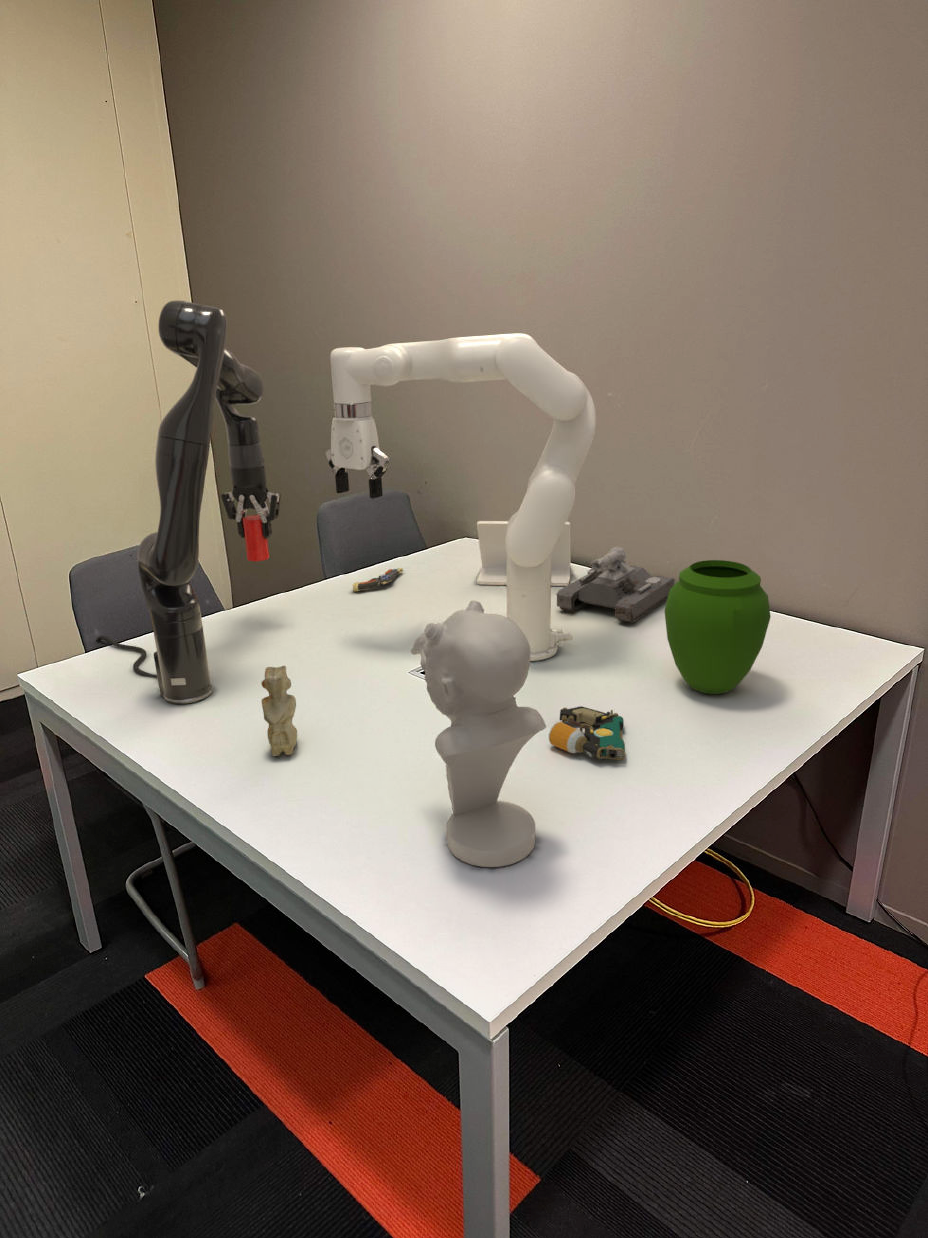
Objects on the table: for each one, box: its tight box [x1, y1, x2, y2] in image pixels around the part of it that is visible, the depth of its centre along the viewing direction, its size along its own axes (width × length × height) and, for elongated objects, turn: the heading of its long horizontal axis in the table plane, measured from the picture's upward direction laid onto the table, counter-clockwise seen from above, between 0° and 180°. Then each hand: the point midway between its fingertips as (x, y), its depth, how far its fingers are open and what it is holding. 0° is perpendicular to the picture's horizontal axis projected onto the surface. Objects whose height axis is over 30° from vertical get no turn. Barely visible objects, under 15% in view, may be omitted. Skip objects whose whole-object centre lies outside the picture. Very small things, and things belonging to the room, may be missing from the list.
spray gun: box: [548, 705, 626, 761], centre depth 149 cm, size 4×17×15 cm
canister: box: [243, 514, 270, 562], centre depth 197 cm, size 5×5×10 cm
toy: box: [556, 546, 676, 624], centre depth 212 cm, size 25×20×15 cm
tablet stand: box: [476, 520, 572, 587], centre depth 236 cm, size 18×25×17 cm
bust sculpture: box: [410, 599, 547, 868], centre depth 121 cm, size 16×24×35 cm
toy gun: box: [352, 567, 404, 592], centre depth 236 cm, size 3×19×10 cm
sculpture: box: [261, 665, 298, 757], centre depth 147 cm, size 6×7×15 cm
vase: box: [664, 559, 772, 695], centre depth 164 cm, size 20×20×24 cm
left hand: (255, 537), depth 197 cm, fingers closed on canister, 5 cm apart
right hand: (359, 494), depth 179 cm, fingers open, 9 cm apart
